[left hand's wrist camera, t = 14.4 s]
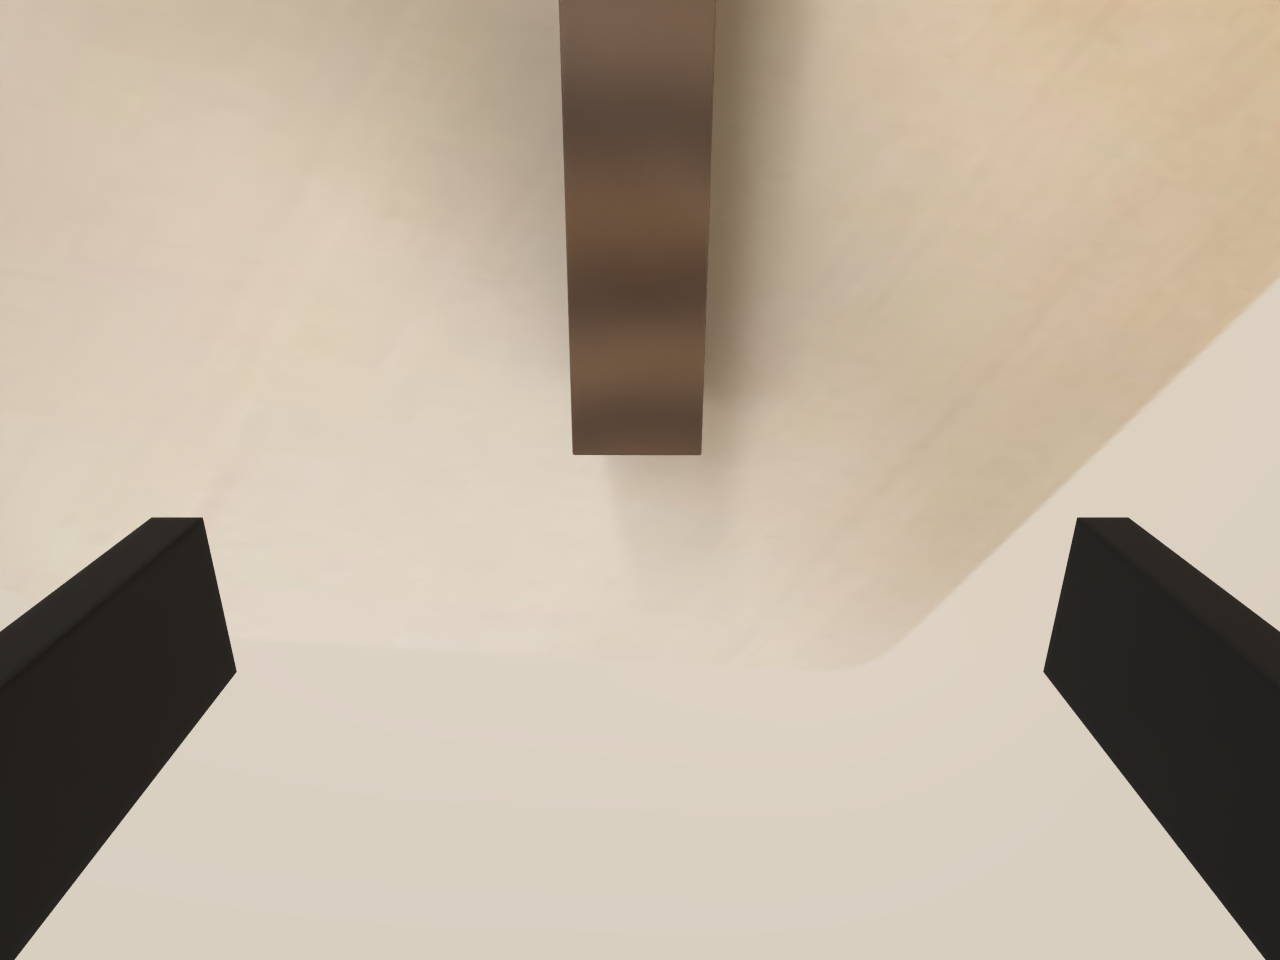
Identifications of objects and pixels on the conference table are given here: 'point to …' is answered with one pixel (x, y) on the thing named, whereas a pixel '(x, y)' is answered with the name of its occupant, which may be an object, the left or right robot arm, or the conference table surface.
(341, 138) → the conference table surface
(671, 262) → the post
